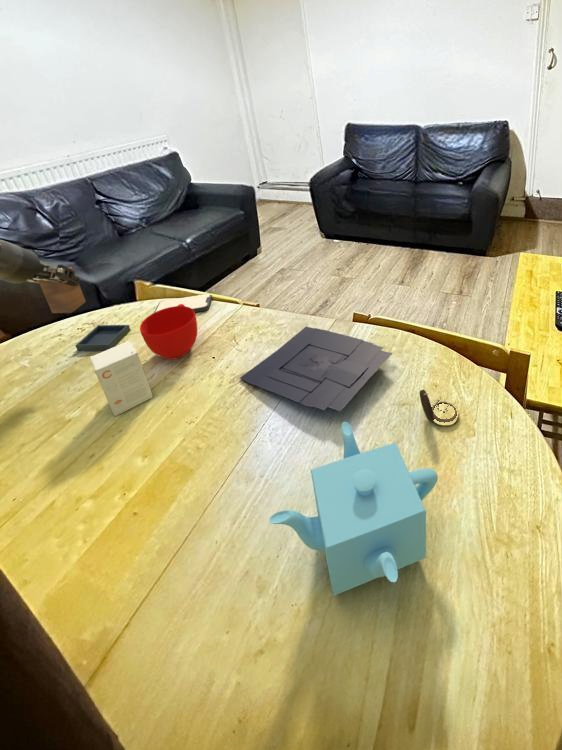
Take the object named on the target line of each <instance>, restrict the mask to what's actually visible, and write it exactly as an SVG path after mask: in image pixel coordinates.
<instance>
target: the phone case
mask: <svg viewBox="0 0 562 750" xmlns="http://www.w3.org/2000/svg"><path fill="white" fill-rule="evenodd" d="M209 294H210V293H202V294H198V295H191V296H190V295H189V296H183V297H177V298H171V299H164V300H161V301H160V302H158V304H157V306H156V308H155V310H154V311H153V313H155V312H157V311H160V310H162V309H165V308H169V307H175V306H178V305H179V304H183V305H184V306H186V307H190V308H192V309H193V310H194V312H195V313H198V312H204V311H207V310H209V309H210V307H211V304H212V301H213V294H212V295H209Z"/></svg>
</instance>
